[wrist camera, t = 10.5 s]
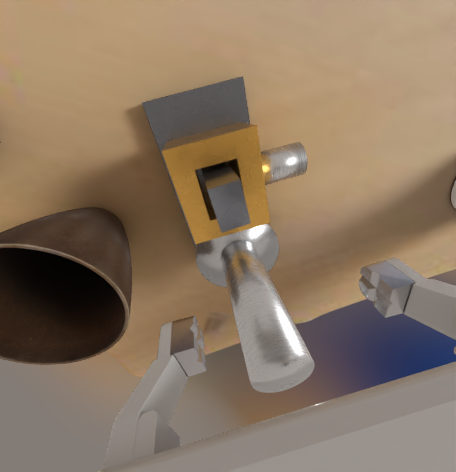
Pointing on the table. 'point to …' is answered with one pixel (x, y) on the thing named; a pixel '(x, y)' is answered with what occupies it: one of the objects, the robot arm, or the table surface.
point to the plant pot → (64, 287)
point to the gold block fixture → (242, 238)
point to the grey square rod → (226, 196)
